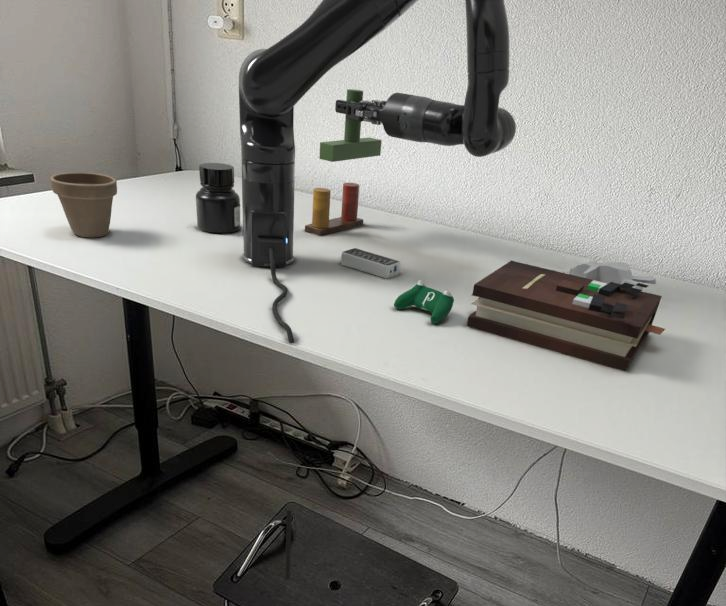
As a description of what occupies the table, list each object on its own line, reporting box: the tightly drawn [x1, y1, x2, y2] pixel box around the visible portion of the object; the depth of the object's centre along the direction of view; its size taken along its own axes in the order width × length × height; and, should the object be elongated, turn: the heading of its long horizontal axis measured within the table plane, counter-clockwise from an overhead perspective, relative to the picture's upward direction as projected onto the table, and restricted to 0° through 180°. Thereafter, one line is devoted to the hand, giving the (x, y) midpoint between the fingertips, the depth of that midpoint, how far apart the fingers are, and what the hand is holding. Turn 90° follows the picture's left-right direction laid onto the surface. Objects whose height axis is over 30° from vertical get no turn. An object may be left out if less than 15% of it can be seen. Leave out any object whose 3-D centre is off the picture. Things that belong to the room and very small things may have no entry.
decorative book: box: [466, 260, 666, 372], centre depth 105 cm, size 19×8×30 cm
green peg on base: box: [319, 88, 382, 163], centre depth 133 cm, size 16×4×12 cm, turn 142°
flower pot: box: [50, 172, 118, 238], centre depth 126 cm, size 12×11×10 cm
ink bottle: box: [195, 162, 242, 234], centre depth 136 cm, size 10×9×12 cm
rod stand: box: [304, 182, 364, 237], centre depth 144 cm, size 15×4×8 cm, turn 143°
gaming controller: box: [393, 279, 455, 325], centre depth 107 cm, size 9×4×6 cm
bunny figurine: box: [569, 260, 657, 291], centre depth 125 cm, size 10×5×15 cm
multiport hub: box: [340, 247, 401, 279], centre depth 124 cm, size 4×11×2 cm, turn 53°
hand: (342, 105), depth 133 cm, fingers closed on green peg on base, 3 cm apart
